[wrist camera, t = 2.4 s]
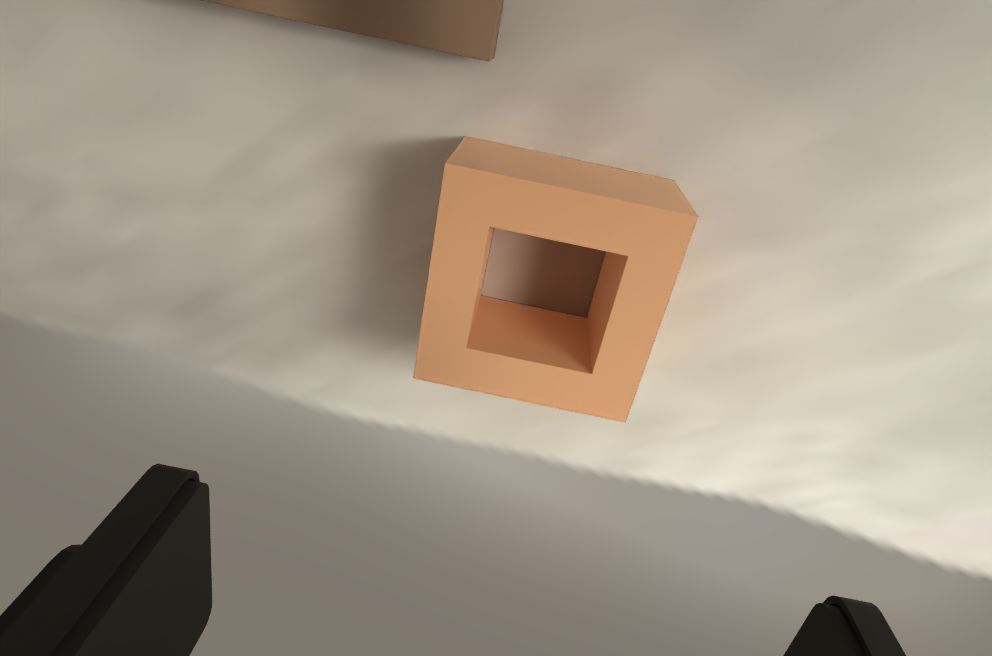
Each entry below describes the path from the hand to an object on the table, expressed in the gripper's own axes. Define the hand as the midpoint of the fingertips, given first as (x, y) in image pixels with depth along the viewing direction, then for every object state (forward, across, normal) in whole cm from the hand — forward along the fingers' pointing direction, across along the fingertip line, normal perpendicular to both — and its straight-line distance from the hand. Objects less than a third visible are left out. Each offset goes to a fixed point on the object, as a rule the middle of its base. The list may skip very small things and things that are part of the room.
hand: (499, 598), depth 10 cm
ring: (+14, -1, -1) cm, 14 cm away
